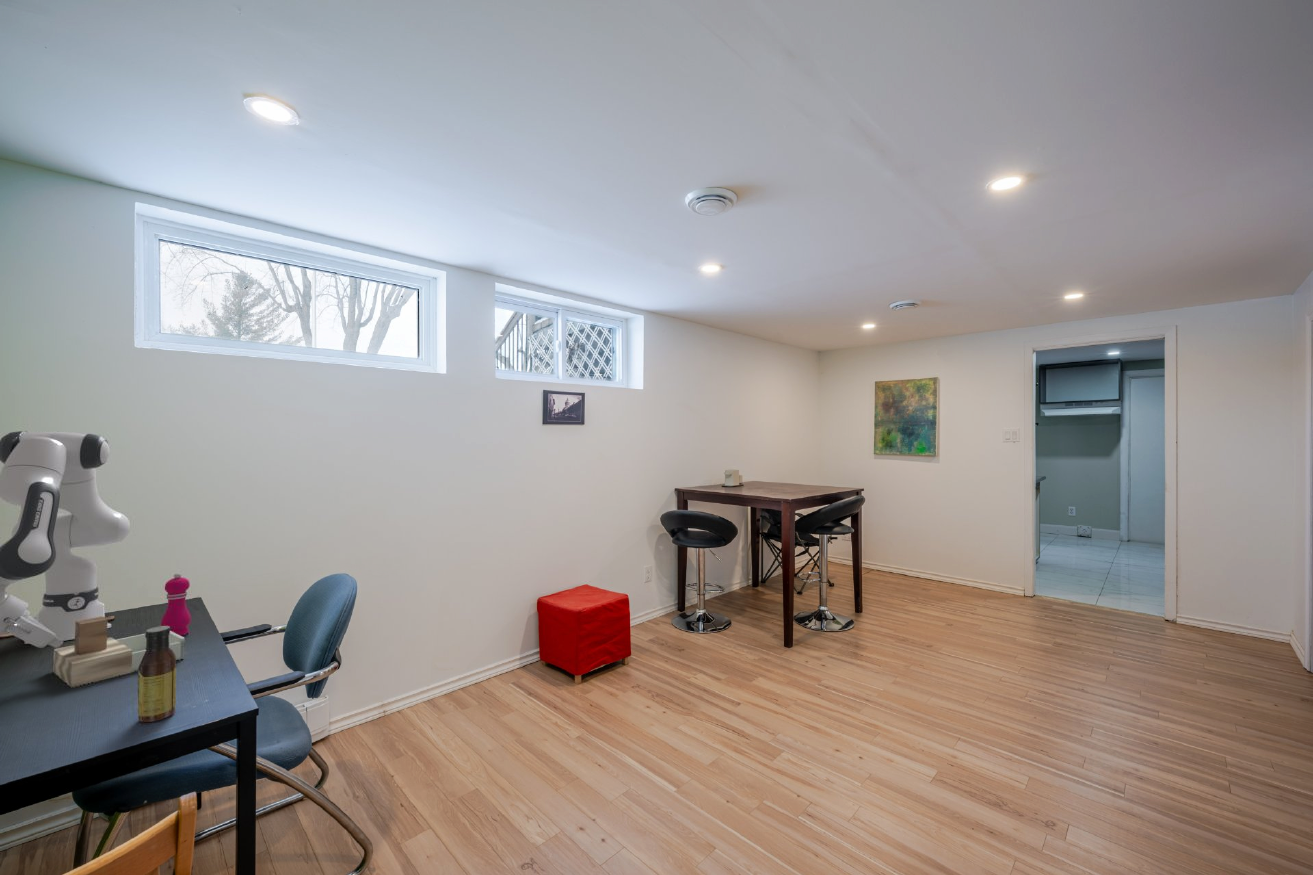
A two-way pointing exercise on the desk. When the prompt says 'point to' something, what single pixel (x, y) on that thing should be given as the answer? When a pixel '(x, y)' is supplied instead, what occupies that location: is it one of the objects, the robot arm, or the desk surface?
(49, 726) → the desk surface
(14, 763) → the desk surface
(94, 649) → the walnut block
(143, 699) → the sauce bottle
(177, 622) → the pepper mill
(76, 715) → the desk surface
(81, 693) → the desk surface
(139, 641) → the tray
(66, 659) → the beige box sleeve
